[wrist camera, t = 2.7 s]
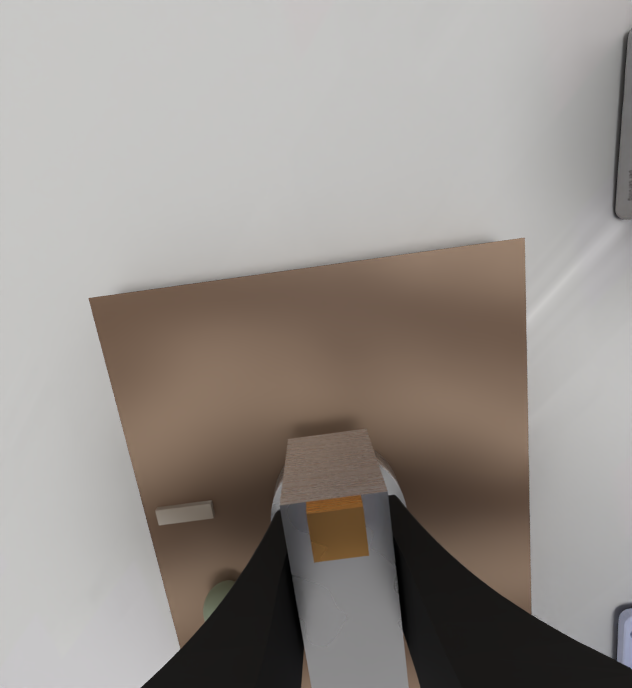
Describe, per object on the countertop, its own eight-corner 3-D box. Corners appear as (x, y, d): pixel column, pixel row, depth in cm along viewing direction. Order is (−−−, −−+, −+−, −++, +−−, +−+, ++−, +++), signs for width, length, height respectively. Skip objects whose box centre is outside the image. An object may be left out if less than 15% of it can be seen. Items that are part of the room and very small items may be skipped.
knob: (405, 560, 14) (455, 716, 9) (287, 575, 14) (275, 738, 9) (390, 409, 12) (439, 496, 8) (261, 426, 12) (230, 523, 8)
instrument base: (507, 635, 17) (558, 731, 14) (212, 672, 17) (187, 775, 14) (493, 242, 13) (558, 232, 10) (120, 293, 14) (54, 302, 10)
